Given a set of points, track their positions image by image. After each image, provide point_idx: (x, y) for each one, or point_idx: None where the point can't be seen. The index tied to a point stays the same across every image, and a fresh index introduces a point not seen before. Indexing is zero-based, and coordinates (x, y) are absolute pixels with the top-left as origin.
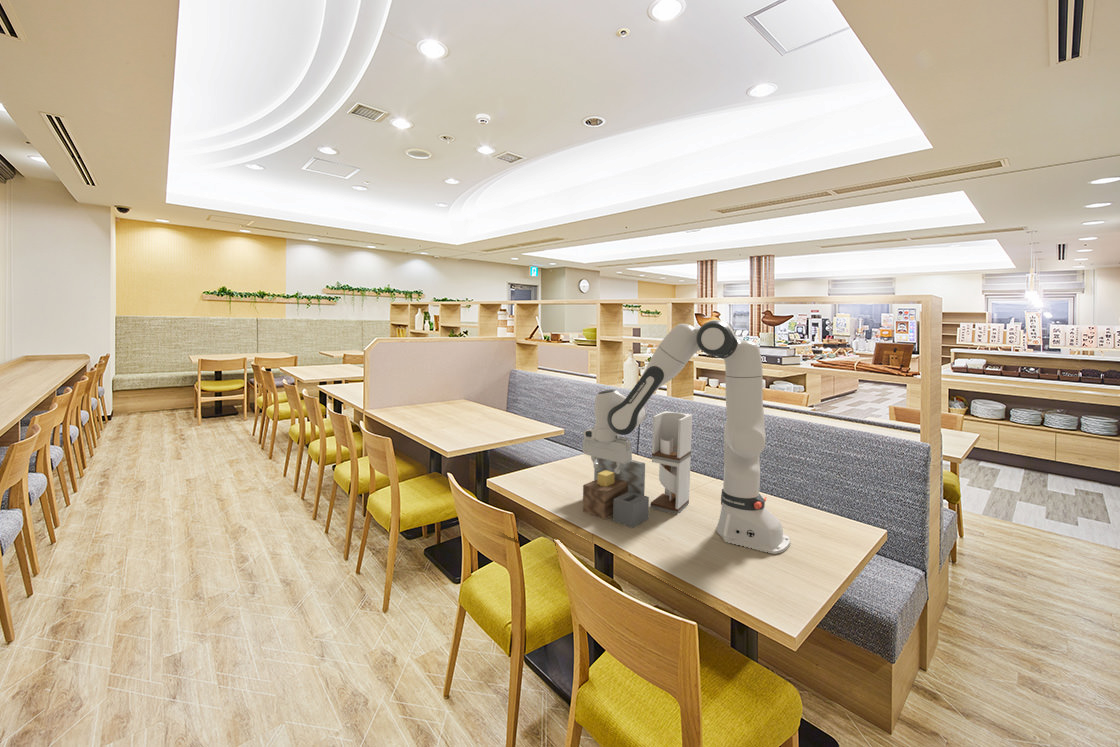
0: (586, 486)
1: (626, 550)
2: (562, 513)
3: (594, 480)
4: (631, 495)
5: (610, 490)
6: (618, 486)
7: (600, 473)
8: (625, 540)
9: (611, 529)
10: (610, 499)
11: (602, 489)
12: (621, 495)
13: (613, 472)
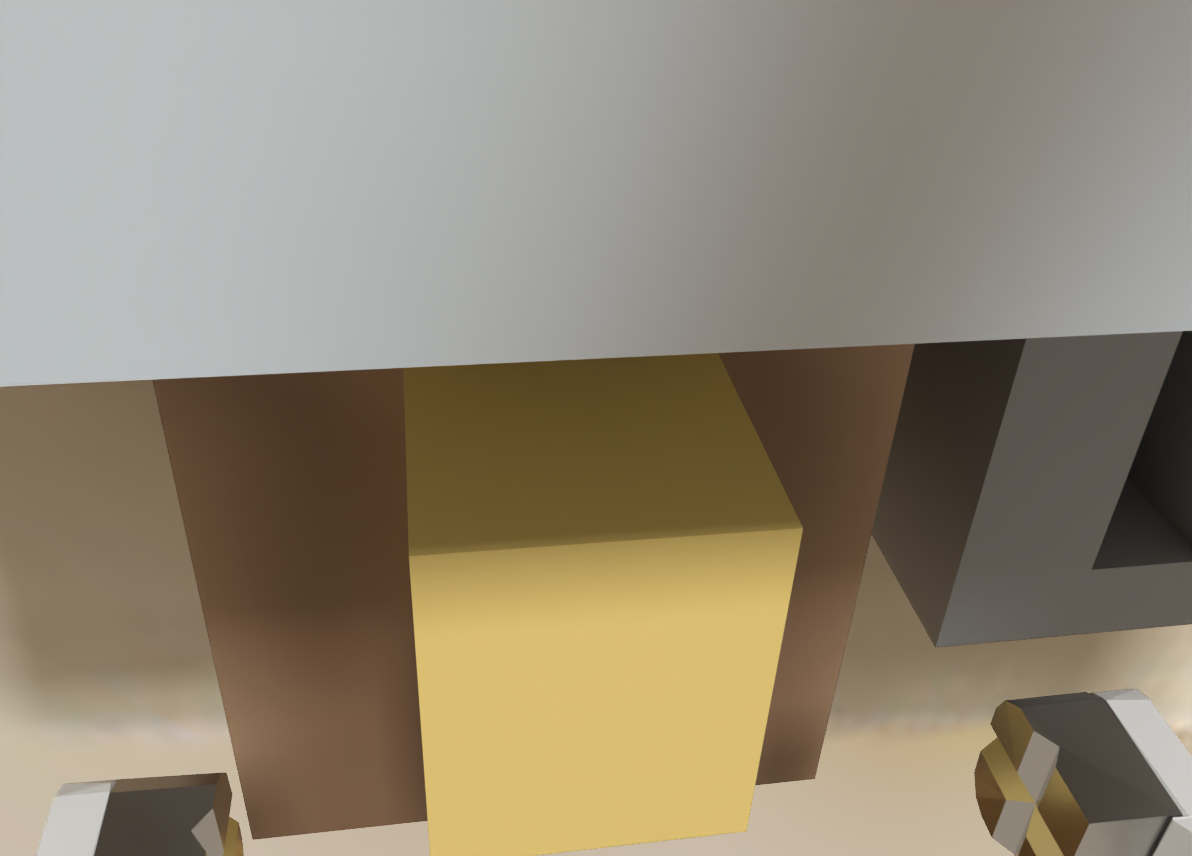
0: (347, 822)
1: (1174, 731)
2: (163, 688)
3: (195, 548)
4: (1179, 332)
5: (835, 640)
6: (892, 406)
7: (501, 827)
8: (1114, 635)
9: (896, 578)
10: None
11: None
12: (999, 464)
13: (766, 540)
